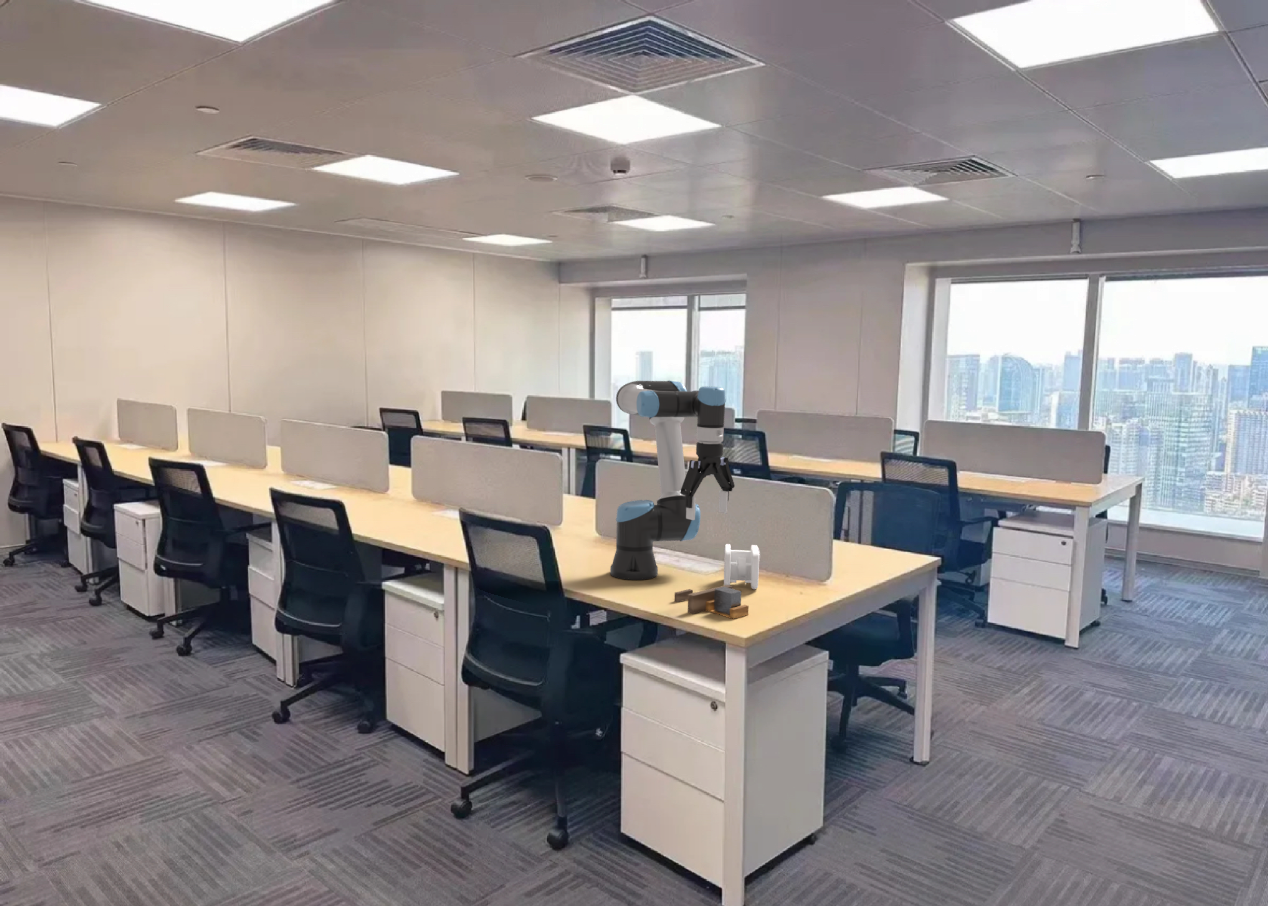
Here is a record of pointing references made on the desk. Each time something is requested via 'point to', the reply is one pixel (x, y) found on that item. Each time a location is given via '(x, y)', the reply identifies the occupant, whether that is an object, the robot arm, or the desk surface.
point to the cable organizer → (741, 565)
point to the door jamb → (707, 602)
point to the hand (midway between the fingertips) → (706, 516)
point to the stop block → (726, 599)
